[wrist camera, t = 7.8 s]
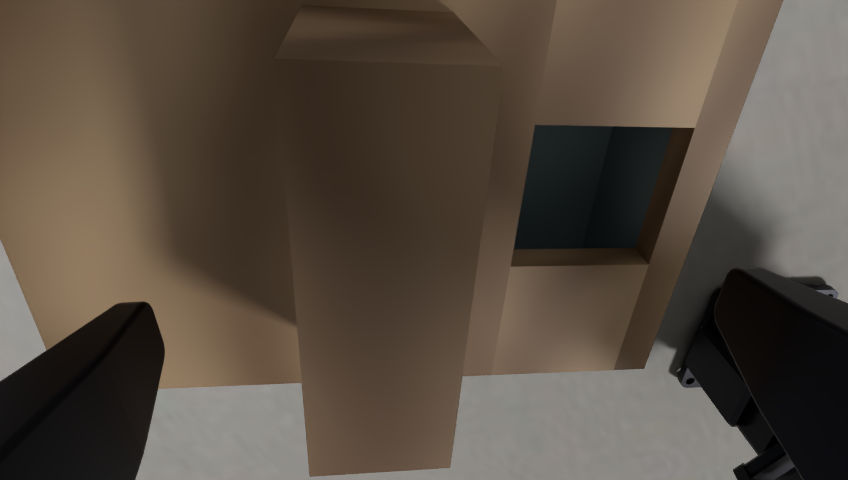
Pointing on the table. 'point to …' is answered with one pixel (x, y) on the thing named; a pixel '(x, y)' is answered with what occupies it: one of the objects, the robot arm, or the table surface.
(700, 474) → the table surface
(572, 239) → the tray
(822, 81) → the table surface
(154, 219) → the lid
